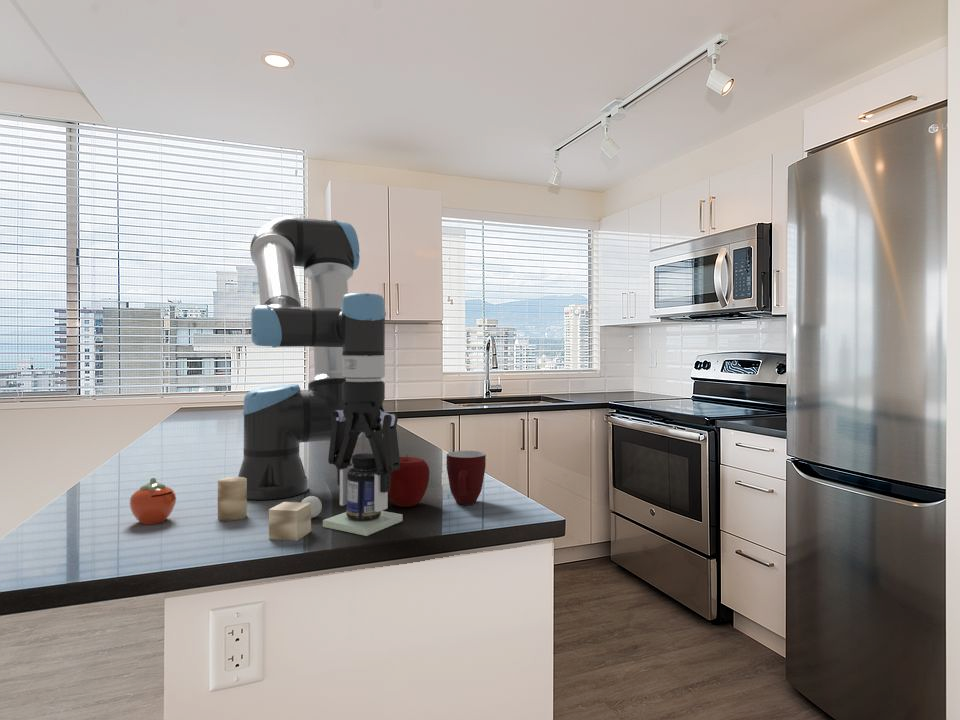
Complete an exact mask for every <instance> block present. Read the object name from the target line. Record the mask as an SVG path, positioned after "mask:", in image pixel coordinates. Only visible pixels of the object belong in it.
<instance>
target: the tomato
mask: <svg viewBox="0 0 960 720" xmlns="http://www.w3.org/2000/svg"><path fill="white" fill-rule="evenodd" d="M176 502H177V495H176V492H175V491H174V489H172V488H171V487H168V486H167V485H165V484H164V483H162V482H159V481H157V479H156V477H151V478H150V480H149V482H147V483H145V484H143V485H142V486H140V488H139V489H138V490H136V491H134V492H133V493H132V495H130V499H129V508H130V511H131V513H132V515H133V517H134V518H135V519H136V521H137V522H139V523H141V524H143V525H157V524H160V523H161V524H162V523H163V522H165V521H166V520H167V518H169V516H171V514H172V512H173V510H174V509H175V506H176Z"/></svg>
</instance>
